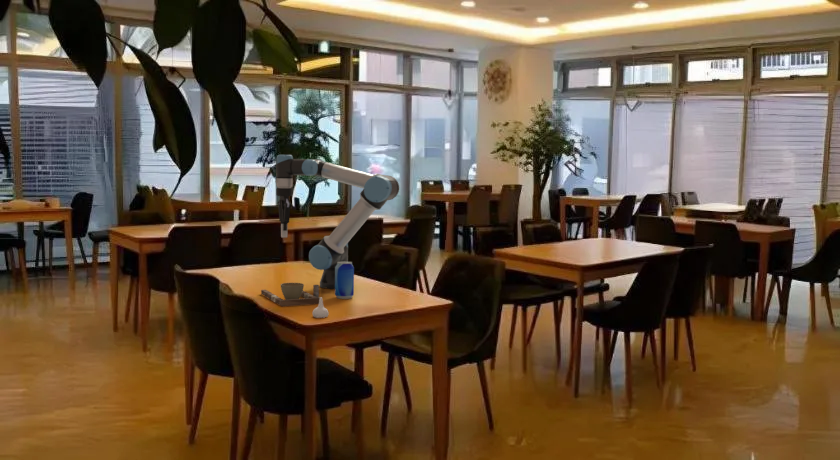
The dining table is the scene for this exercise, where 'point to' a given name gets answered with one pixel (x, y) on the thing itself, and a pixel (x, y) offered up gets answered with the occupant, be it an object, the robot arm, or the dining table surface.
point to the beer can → (344, 280)
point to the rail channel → (294, 302)
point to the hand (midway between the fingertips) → (284, 237)
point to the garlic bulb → (320, 310)
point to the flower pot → (292, 290)
